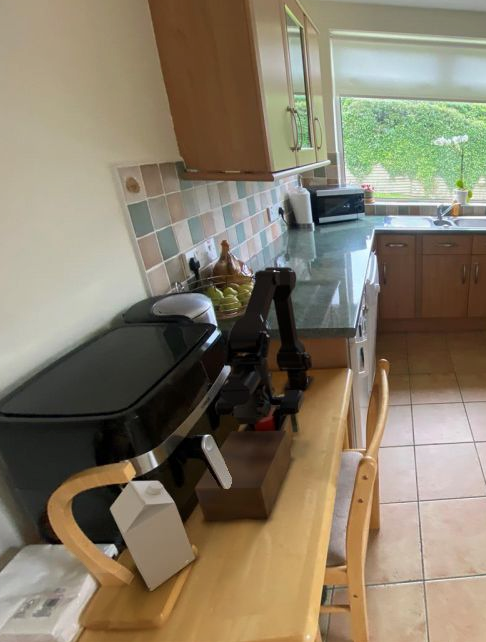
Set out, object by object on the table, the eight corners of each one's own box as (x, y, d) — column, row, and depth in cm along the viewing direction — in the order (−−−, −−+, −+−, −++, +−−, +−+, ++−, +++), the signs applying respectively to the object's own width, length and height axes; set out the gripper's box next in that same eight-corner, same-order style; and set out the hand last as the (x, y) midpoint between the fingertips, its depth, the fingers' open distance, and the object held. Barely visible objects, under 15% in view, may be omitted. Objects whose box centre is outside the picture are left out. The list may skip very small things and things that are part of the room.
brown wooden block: (238, 460, 90) (231, 431, 86) (291, 459, 90) (286, 430, 87) (205, 520, 76) (194, 488, 72) (268, 519, 76) (260, 487, 72)
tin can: (261, 426, 94) (257, 408, 91) (281, 425, 94) (278, 408, 92) (253, 440, 89) (249, 422, 87) (274, 440, 89) (270, 422, 87)
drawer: (262, 418, 102) (258, 396, 99) (304, 417, 103) (301, 396, 100) (230, 475, 85) (224, 451, 82) (281, 474, 85) (276, 450, 82)
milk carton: (151, 592, 63) (115, 516, 56) (136, 566, 67) (101, 491, 60) (195, 559, 69) (168, 485, 61) (179, 536, 72) (152, 463, 65)
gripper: (194, 399, 77) (211, 455, 83) (286, 398, 78) (295, 454, 84) (220, 369, 87) (233, 421, 94) (301, 369, 88) (308, 420, 94)
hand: (266, 429), depth 91 cm, fingers closed on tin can, 5 cm apart
